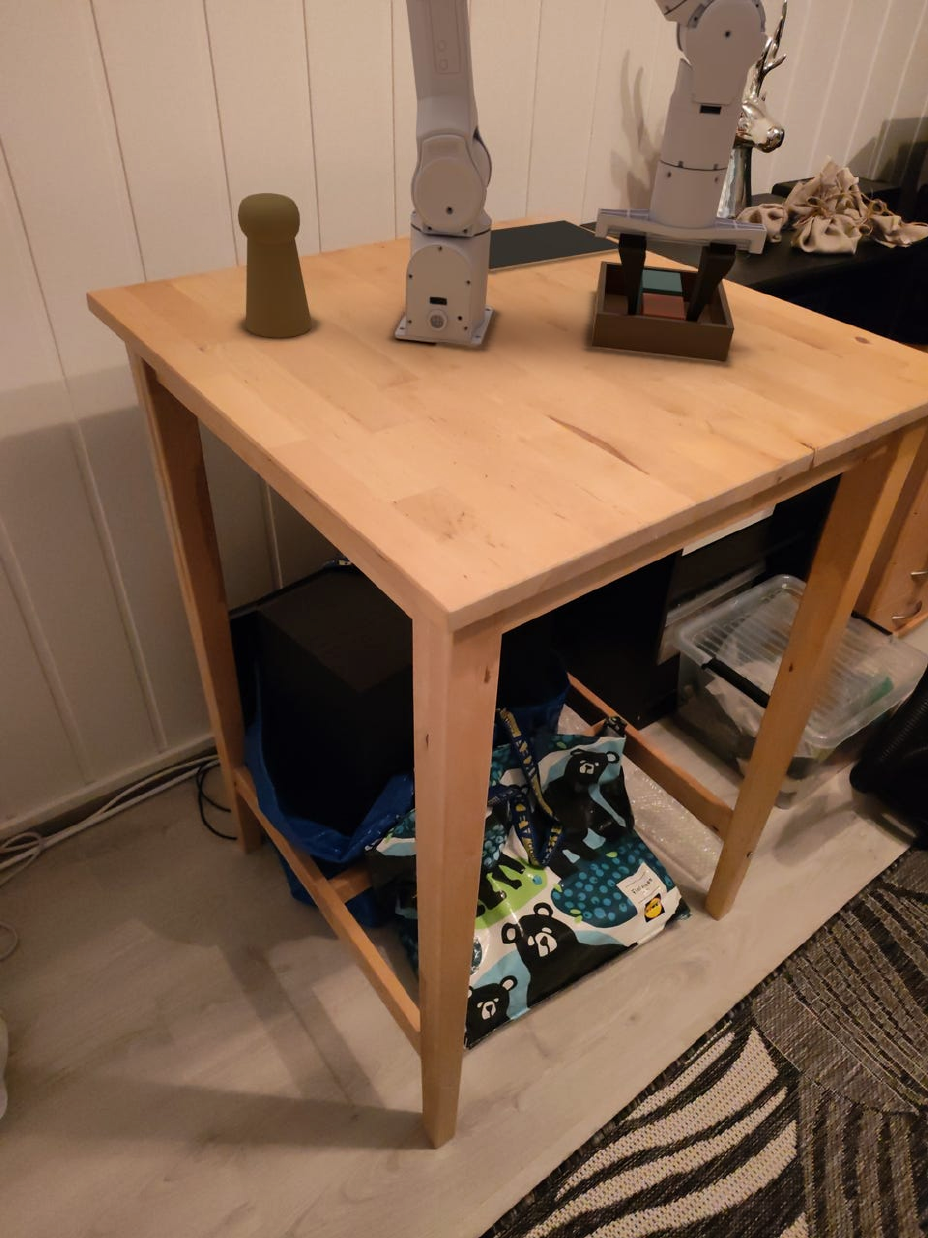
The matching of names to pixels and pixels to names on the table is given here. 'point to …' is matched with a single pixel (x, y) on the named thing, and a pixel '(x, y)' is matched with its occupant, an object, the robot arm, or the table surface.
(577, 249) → the mat
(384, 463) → the table surface
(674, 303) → the block
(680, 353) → the brown open tray
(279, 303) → the cork
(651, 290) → the block
